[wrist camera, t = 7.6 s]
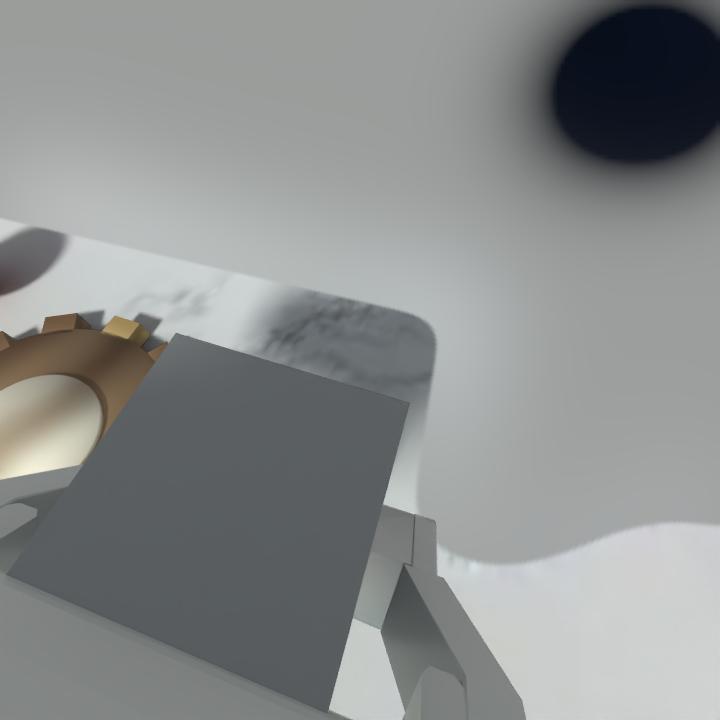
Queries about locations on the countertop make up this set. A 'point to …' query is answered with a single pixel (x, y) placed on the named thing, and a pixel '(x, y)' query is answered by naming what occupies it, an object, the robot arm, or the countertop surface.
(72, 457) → the sprocket
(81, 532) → the gray rectangular block
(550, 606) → the countertop surface
